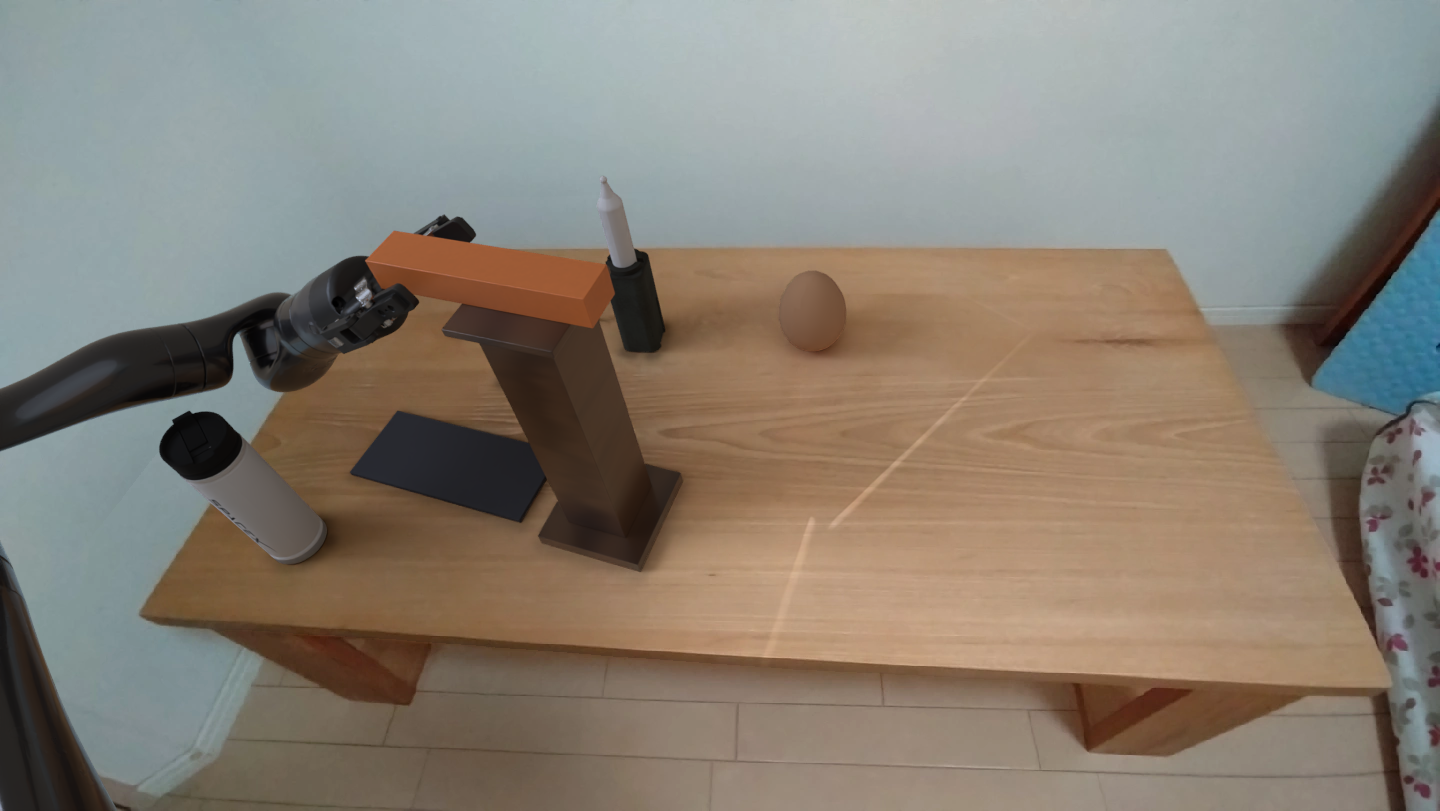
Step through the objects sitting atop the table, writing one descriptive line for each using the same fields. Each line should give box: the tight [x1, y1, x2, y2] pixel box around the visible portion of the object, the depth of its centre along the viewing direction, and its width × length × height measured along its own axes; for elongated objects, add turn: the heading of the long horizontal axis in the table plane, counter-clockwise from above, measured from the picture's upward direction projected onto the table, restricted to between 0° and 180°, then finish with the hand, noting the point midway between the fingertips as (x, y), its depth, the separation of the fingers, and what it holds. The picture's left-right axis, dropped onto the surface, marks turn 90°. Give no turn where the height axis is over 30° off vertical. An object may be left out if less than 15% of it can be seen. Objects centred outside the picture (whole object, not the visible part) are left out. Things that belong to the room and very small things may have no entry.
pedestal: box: [441, 266, 684, 573], centre depth 74 cm, size 12×12×32 cm
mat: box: [349, 410, 547, 524], centre depth 92 cm, size 24×10×1 cm, turn 70°
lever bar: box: [365, 230, 615, 328], centre depth 61 cm, size 20×4×3 cm, turn 70°
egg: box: [778, 270, 847, 352], centre depth 95 cm, size 8×8×11 cm
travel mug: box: [158, 410, 328, 565], centre depth 81 cm, size 6×7×20 cm
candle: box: [596, 175, 666, 353], centre depth 93 cm, size 5×5×25 cm
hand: (438, 260), depth 62 cm, fingers open, 8 cm apart
